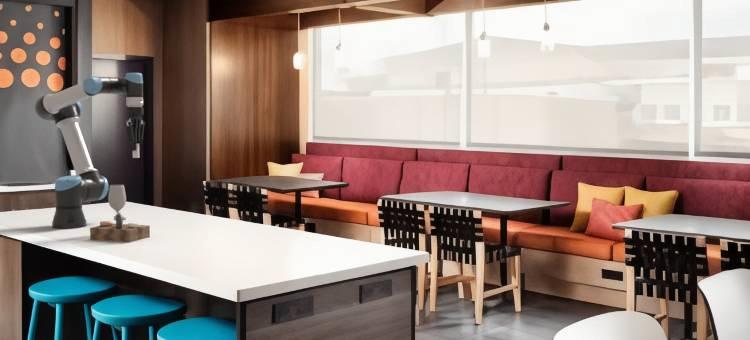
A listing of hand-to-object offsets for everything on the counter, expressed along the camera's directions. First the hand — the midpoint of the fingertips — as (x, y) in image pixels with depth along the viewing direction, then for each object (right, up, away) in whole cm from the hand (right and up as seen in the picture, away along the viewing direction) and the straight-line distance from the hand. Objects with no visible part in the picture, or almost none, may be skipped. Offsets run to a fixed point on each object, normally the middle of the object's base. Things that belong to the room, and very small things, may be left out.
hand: (136, 157), depth 396 cm
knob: (+8, -35, -32) cm, 48 cm away
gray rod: (+3, -30, -36) cm, 47 cm away
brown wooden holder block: (+1, -35, -30) cm, 46 cm away
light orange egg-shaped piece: (-5, -34, -27) cm, 44 cm away
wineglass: (-5, -34, -11) cm, 36 cm away
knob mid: (+1, -32, -30) cm, 44 cm away
